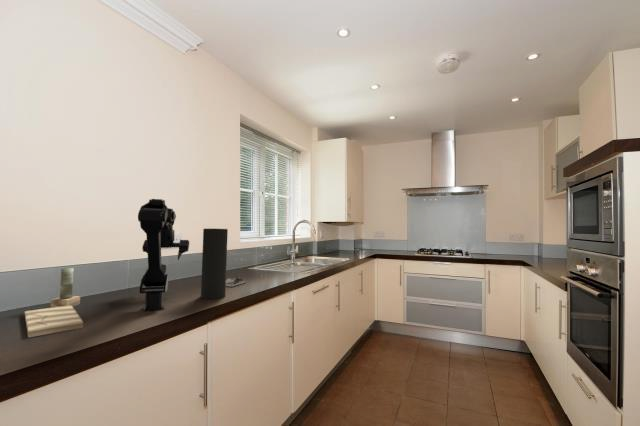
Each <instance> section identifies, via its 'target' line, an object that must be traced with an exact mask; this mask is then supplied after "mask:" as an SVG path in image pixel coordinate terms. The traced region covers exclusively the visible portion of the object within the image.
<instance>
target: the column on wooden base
mask: <svg viewBox="0 0 640 426" xmlns="http://www.w3.org/2000/svg"><path fill="white" fill-rule="evenodd" d="M74 270H75V269H74V267H67V268H66V267H65V268H61V271H60V288H59V297H57V298H53V299H50V307H49V308H53V307H60V306H67V305H72V307H73V308H74V307H75V306H78V305H80V304H81V296H80V295H79V296H78V295H73V288H74V287H73V286H74V273H75V272H74Z"/></svg>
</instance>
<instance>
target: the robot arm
mask: <svg viewBox="0 0 640 426" xmlns="http://www.w3.org/2000/svg"><path fill="white" fill-rule="evenodd" d="M137 214H138V215H137V220H138V222H139V226H140V228H141V230H142V231H143V232H144V233H145V234H146V235H145V236H146V239H145V240H144V241H143V244H142V249H141V250H142V252H144V253H146V254H147V265H148V266H147V268H146V269H145V272H144V274H143V276H142V278H141V280H140V284H139V292H138V293H140V294H145V295H144V305H143V306H142V308H143V311H144V312H149V311H155V310H156V311H157V310H164V309H165V307H164V304H163V293H166V292H167V291H168V288H169V287H168V286H169V273H167V266H166V264H163V262H162V249H168V248H169V249H170V248H171V249H172V248H178V252H177V260H178V261H179V260H180V258H181V256H182V254H184V253H187V252H189V249H190V240H189V239H180V240H179V242H175V239H176V238H175V229H174V228H173V227H174V224H175V221H176V217H177V216H176V212H175V210H174V209H173V208H171V207H168V206H167V205H166V200H165V199H163V198H161V199H159V198H151V199H148V202H147V203H145V204H143V205H141V206H140V209H139V211H138V213H137Z"/></svg>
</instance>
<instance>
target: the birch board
mask: <svg viewBox="0 0 640 426" xmlns="http://www.w3.org/2000/svg"><path fill="white" fill-rule="evenodd" d="M24 319H25V325H26V333H27V337H28V338H32V337H38V336H39V337H40V336H45V335H50V334H56V333H60V332H66V331H67V332H68V331H71V330H77V329H82V328H84V322H83V320H82V318H81V317H80V315H79V314H78V313H77V311H76V310H75V308H74V306H73V307H72V305H67V306H60V307H53V308H50V307H46V308H39V309H32V310H25V311H24Z"/></svg>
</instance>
